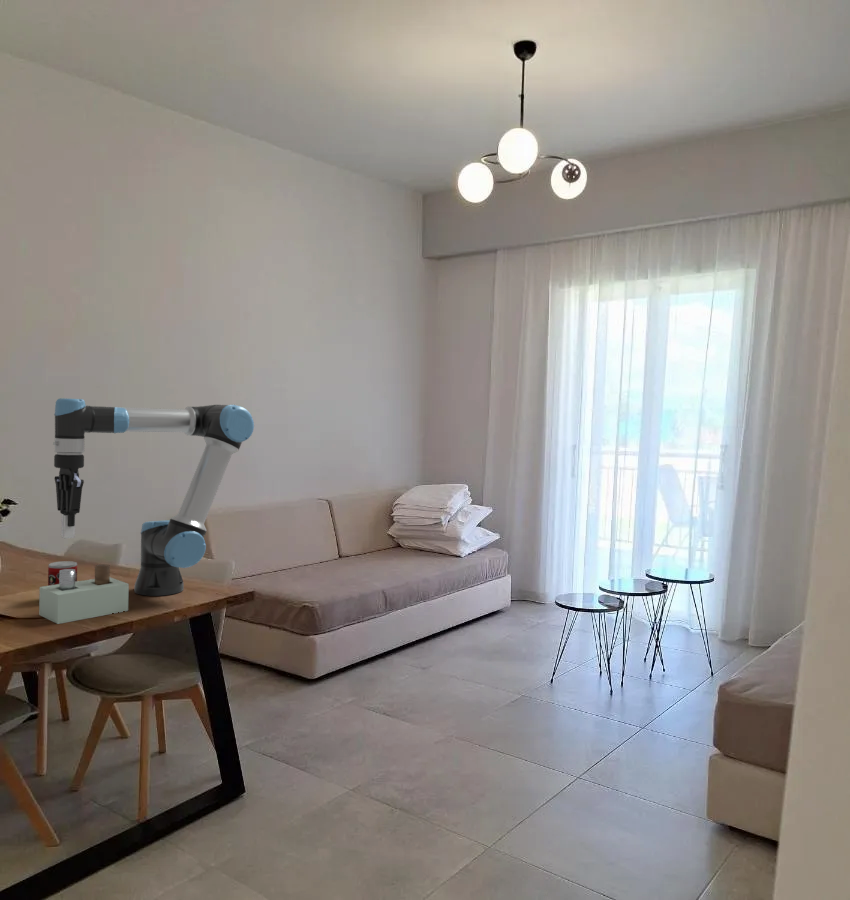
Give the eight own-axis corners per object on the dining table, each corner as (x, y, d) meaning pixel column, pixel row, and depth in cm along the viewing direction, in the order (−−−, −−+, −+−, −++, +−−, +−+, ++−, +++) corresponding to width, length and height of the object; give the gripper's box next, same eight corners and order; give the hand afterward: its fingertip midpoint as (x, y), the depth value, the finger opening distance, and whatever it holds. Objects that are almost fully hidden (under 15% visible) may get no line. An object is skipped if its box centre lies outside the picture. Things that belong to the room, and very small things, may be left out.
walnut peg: (105, 588, 216) (105, 563, 216) (111, 591, 213) (112, 566, 213) (91, 591, 213) (92, 565, 213) (98, 593, 210) (98, 567, 210)
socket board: (108, 602, 221) (108, 576, 221) (128, 610, 213) (128, 583, 213) (39, 614, 206) (39, 586, 206) (57, 623, 198) (58, 594, 198)
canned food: (42, 600, 221) (42, 564, 221) (64, 594, 229) (65, 560, 228) (59, 603, 218) (60, 567, 218) (82, 598, 226) (82, 562, 225)
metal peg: (71, 594, 208) (71, 568, 208) (77, 596, 206) (77, 570, 205) (56, 596, 205) (57, 570, 205) (62, 599, 203) (63, 572, 202)
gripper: (44, 452, 205) (43, 535, 206) (66, 455, 196) (65, 542, 197) (71, 451, 211) (70, 532, 212) (94, 455, 202) (92, 539, 203)
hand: (68, 537), depth 205 cm, fingers closed
